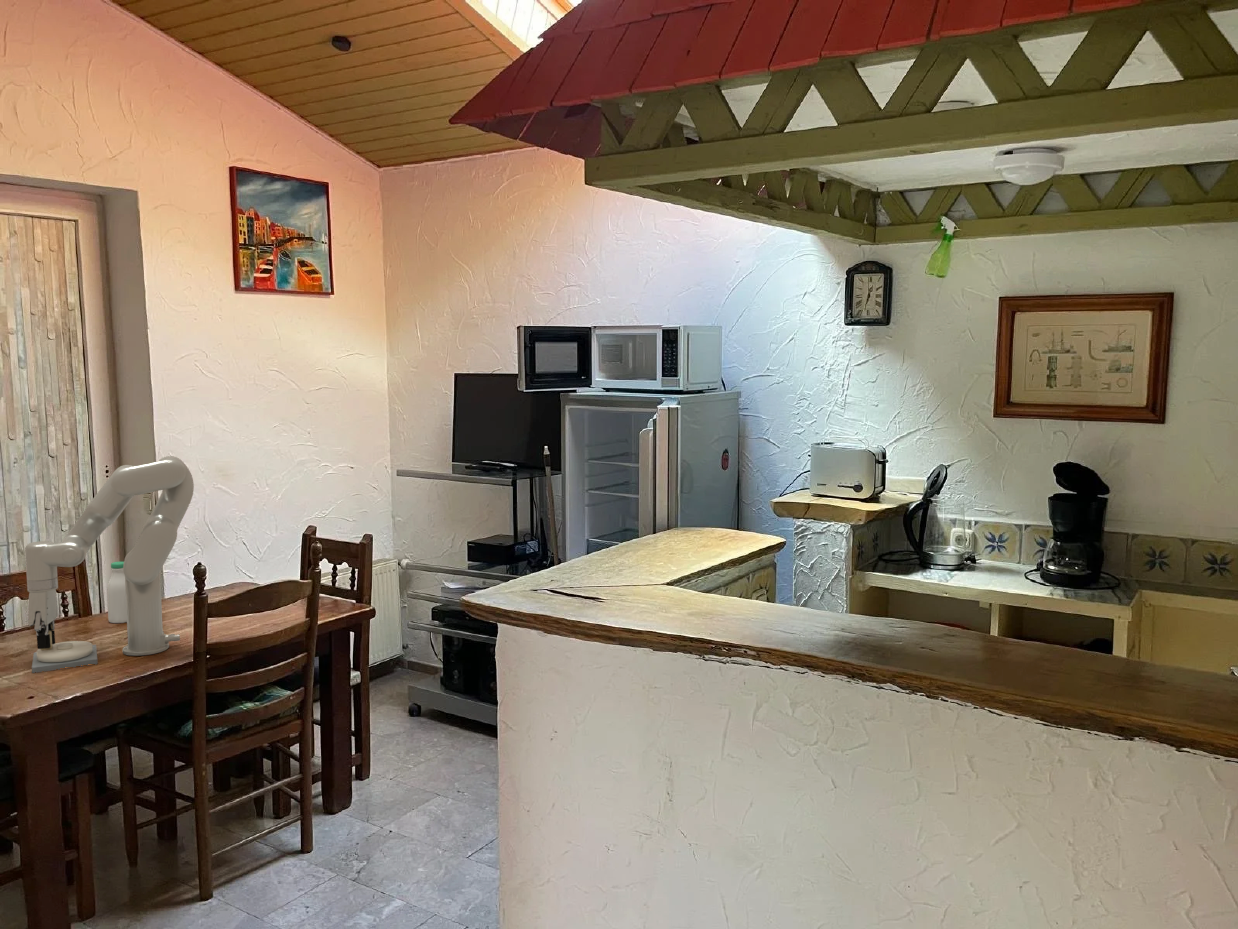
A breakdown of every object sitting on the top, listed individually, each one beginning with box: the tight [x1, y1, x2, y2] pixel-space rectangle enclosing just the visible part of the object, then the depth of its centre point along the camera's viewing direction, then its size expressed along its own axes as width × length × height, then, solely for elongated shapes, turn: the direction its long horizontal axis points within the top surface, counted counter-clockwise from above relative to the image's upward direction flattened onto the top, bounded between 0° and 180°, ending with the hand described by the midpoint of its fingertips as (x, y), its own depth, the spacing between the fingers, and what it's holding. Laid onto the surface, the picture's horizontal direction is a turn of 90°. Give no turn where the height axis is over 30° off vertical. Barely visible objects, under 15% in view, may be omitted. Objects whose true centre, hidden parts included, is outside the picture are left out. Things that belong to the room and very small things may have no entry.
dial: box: [36, 630, 93, 662], centre depth 267 cm, size 14×14×7 cm
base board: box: [31, 644, 99, 674], centre depth 268 cm, size 16×16×2 cm
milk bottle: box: [106, 561, 127, 624], centre depth 309 cm, size 8×8×20 cm
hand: (46, 645), depth 267 cm, fingers open, 3 cm apart
